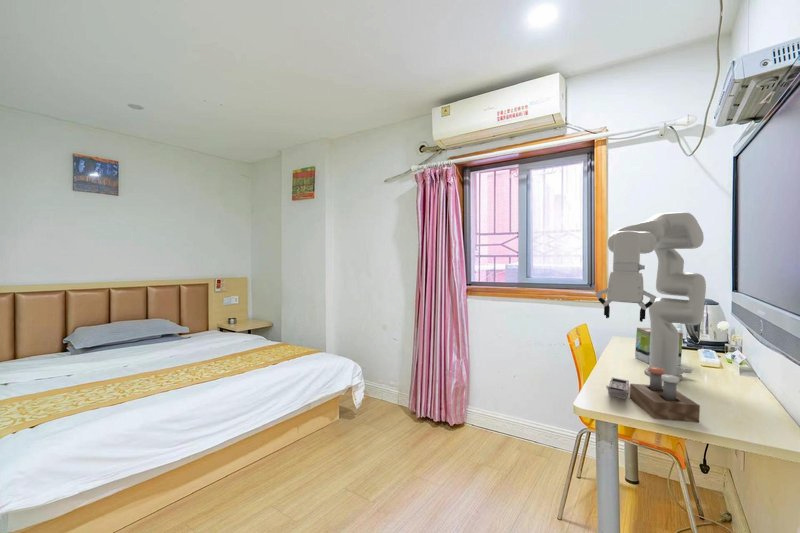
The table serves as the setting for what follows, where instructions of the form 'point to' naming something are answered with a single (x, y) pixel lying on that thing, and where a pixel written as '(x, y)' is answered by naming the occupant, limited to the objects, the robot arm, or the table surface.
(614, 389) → the mobile phone
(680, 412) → the block
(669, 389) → the white light bulb
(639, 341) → the tea box
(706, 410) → the table surface
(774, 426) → the table surface
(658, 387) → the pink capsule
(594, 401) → the table surface
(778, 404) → the table surface
